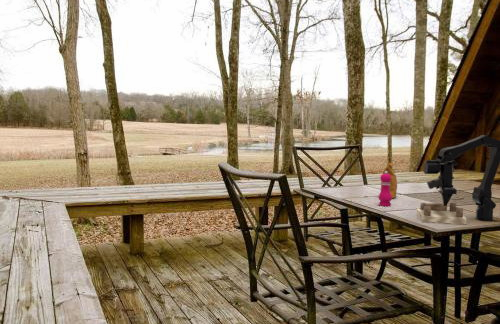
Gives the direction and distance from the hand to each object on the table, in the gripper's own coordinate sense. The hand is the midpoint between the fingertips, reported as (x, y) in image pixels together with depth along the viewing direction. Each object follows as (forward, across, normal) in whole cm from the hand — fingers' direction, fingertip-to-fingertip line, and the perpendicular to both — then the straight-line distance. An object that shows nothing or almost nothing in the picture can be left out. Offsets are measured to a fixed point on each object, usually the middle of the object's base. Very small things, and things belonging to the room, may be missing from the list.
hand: (445, 205), depth 205 cm
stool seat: (+7, +1, -2) cm, 7 cm away
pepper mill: (+7, -29, -26) cm, 40 cm away
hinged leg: (+3, -6, -4) cm, 8 cm away
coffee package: (+7, -58, -22) cm, 63 cm away
